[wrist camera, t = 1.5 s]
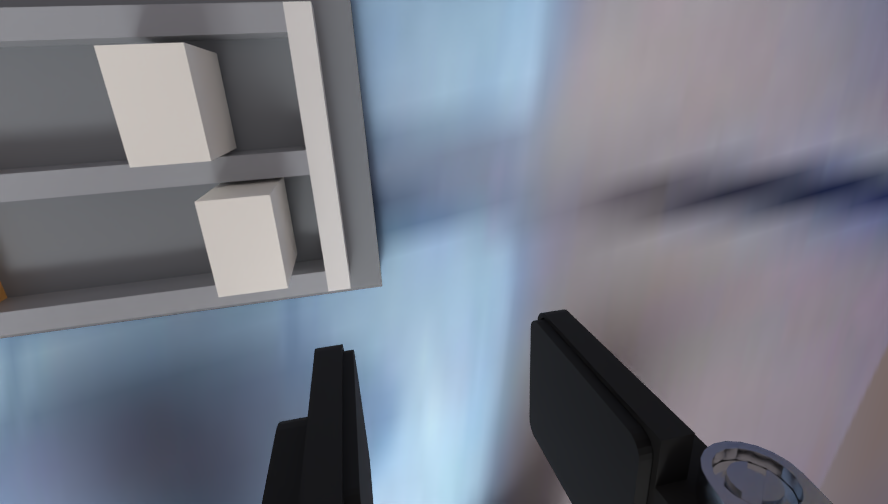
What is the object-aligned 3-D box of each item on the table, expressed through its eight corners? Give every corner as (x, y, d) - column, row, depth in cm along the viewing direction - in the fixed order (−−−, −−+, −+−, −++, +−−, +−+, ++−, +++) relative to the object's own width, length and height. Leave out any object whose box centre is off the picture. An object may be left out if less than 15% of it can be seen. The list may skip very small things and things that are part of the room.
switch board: (347, -7, 23) (349, -26, 20) (379, 273, 29) (385, 300, 25) (-165, 2, 19) (-283, -19, 16) (-15, 325, 25) (-77, 366, 21)
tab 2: (283, 175, 23) (269, 194, 19) (297, 253, 25) (287, 288, 21) (222, 181, 23) (194, 201, 19) (240, 260, 24) (218, 297, 20)
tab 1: (216, 53, 21) (183, 42, 17) (236, 148, 23) (211, 161, 18) (147, 55, 21) (93, 45, 16) (172, 152, 22) (129, 167, 18)
